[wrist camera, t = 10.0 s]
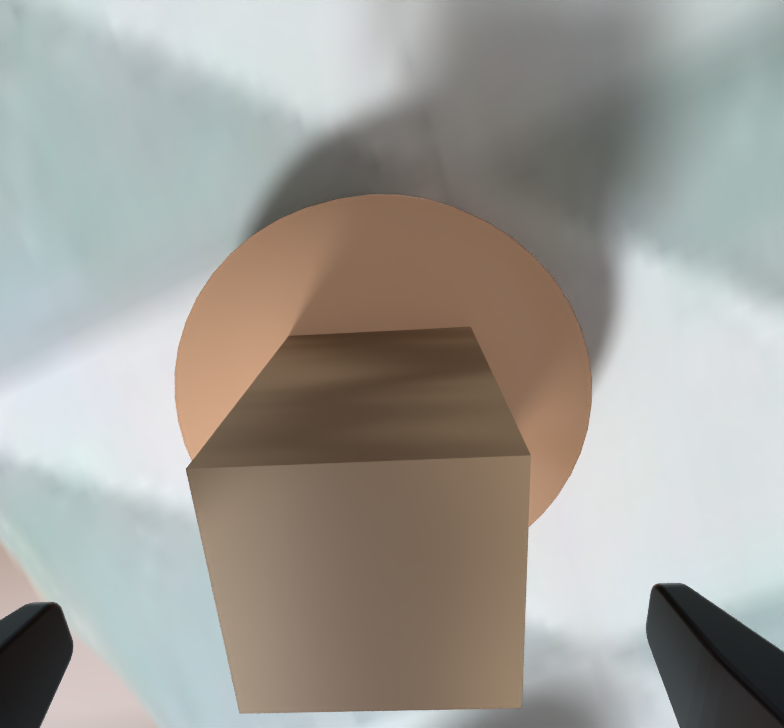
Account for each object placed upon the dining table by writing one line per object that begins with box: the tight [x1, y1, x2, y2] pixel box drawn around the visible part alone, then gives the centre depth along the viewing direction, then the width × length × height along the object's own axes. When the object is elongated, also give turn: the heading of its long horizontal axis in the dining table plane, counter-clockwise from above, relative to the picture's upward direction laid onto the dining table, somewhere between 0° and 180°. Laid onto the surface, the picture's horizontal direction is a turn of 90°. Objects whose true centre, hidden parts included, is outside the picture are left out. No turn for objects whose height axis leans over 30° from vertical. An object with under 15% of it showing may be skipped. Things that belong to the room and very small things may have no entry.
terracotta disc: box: [175, 194, 592, 527], centre depth 16 cm, size 12×12×3 cm
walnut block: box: [186, 327, 531, 713], centre depth 11 cm, size 5×5×7 cm
